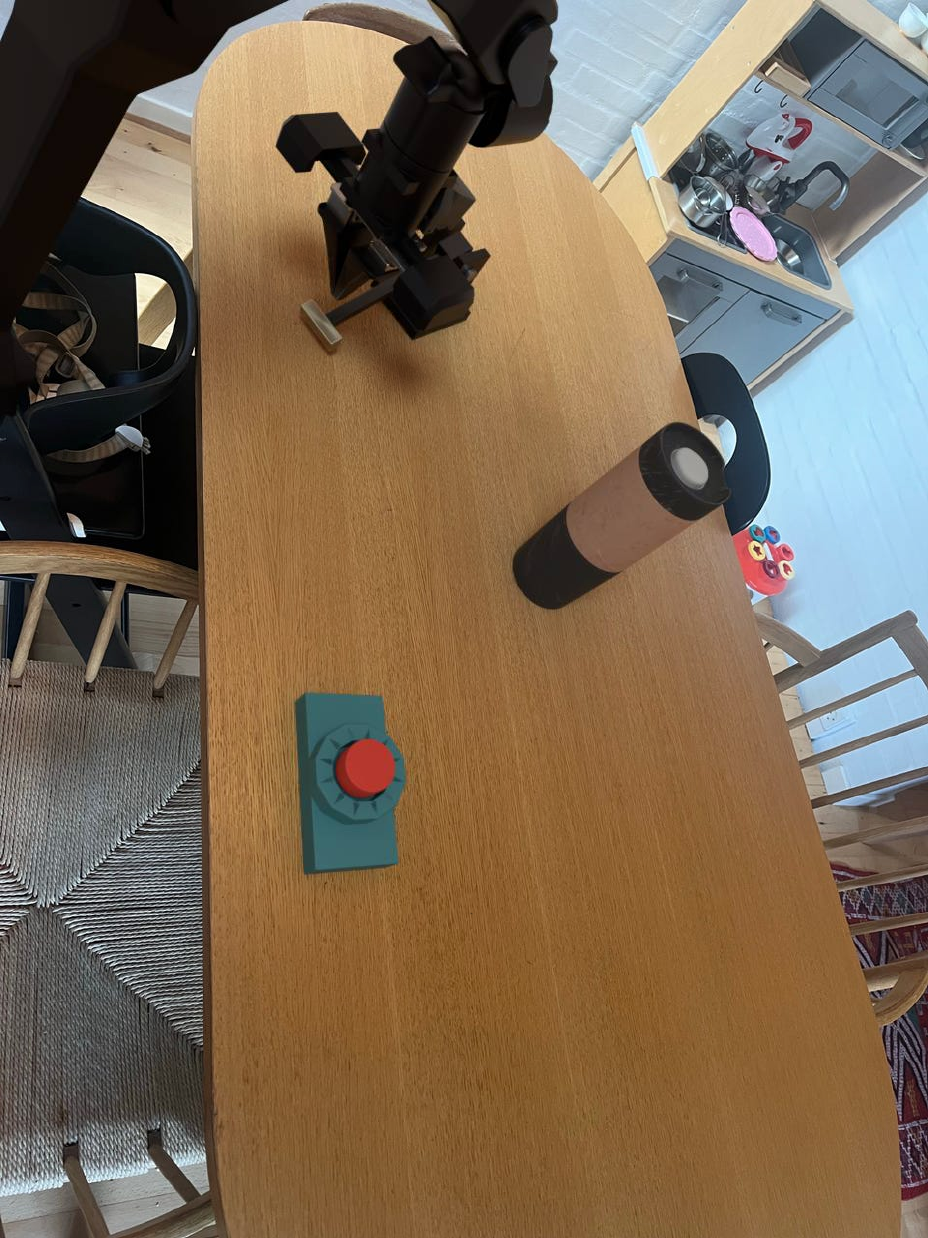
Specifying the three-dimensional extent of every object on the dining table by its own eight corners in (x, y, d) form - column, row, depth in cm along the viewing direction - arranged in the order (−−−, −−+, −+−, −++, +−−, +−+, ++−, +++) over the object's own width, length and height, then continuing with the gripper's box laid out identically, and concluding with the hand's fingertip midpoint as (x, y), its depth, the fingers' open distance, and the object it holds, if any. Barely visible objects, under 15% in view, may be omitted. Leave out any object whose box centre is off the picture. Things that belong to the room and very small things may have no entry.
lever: (328, 355, 71) (331, 341, 68) (298, 316, 71) (300, 300, 68) (473, 272, 77) (481, 257, 75) (446, 237, 77) (452, 220, 75)
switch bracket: (412, 340, 78) (455, 276, 71) (369, 285, 78) (409, 216, 71) (465, 320, 84) (511, 259, 77) (426, 269, 84) (468, 203, 77)
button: (333, 745, 52) (343, 738, 51) (381, 745, 54) (392, 738, 52) (337, 799, 50) (347, 793, 49) (386, 797, 52) (398, 791, 51)
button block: (291, 701, 56) (311, 683, 52) (373, 704, 59) (396, 687, 56) (299, 875, 51) (322, 866, 48) (388, 867, 54) (414, 859, 51)
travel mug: (495, 563, 71) (644, 440, 56) (538, 528, 76) (685, 406, 61) (547, 627, 72) (709, 522, 56) (587, 588, 76) (746, 481, 61)
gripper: (559, 227, 60) (459, 358, 72) (413, 38, 60) (337, 200, 72) (474, 251, 53) (378, 391, 65) (308, 36, 53) (243, 216, 65)
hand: (337, 296), depth 67 cm, fingers closed
